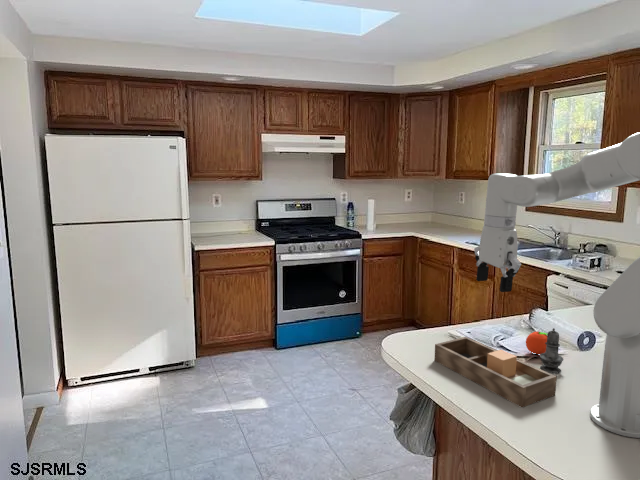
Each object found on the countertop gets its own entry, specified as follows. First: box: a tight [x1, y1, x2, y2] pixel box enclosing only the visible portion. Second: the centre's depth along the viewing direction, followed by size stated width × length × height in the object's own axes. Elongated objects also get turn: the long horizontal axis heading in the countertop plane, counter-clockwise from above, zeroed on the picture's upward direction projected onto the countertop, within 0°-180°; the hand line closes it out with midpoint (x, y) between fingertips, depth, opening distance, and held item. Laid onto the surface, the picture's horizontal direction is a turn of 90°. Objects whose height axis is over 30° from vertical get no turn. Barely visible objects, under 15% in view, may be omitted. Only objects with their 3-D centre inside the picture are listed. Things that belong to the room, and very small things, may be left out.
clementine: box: [525, 331, 548, 354], centre depth 140 cm, size 8×7×7 cm
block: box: [487, 349, 518, 377], centre depth 123 cm, size 5×5×5 cm
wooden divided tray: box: [434, 336, 558, 408], centre depth 127 cm, size 30×12×5 cm, turn 28°
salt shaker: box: [539, 327, 564, 375], centre depth 130 cm, size 6×6×12 cm
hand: (493, 285), depth 125 cm, fingers open, 9 cm apart
